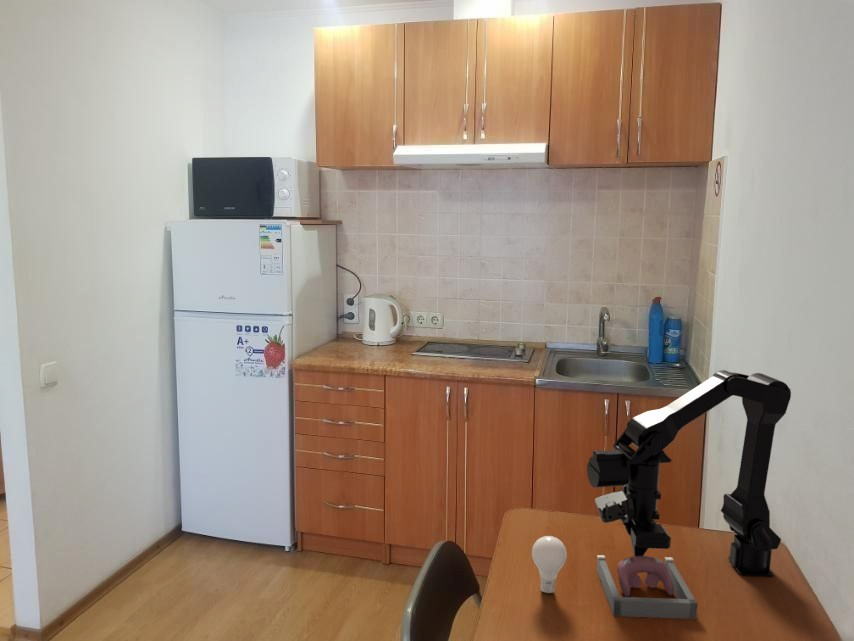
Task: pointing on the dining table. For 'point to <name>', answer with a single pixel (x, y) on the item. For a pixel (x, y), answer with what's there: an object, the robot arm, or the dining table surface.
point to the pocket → (649, 606)
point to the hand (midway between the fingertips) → (637, 558)
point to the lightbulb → (549, 560)
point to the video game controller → (639, 565)
